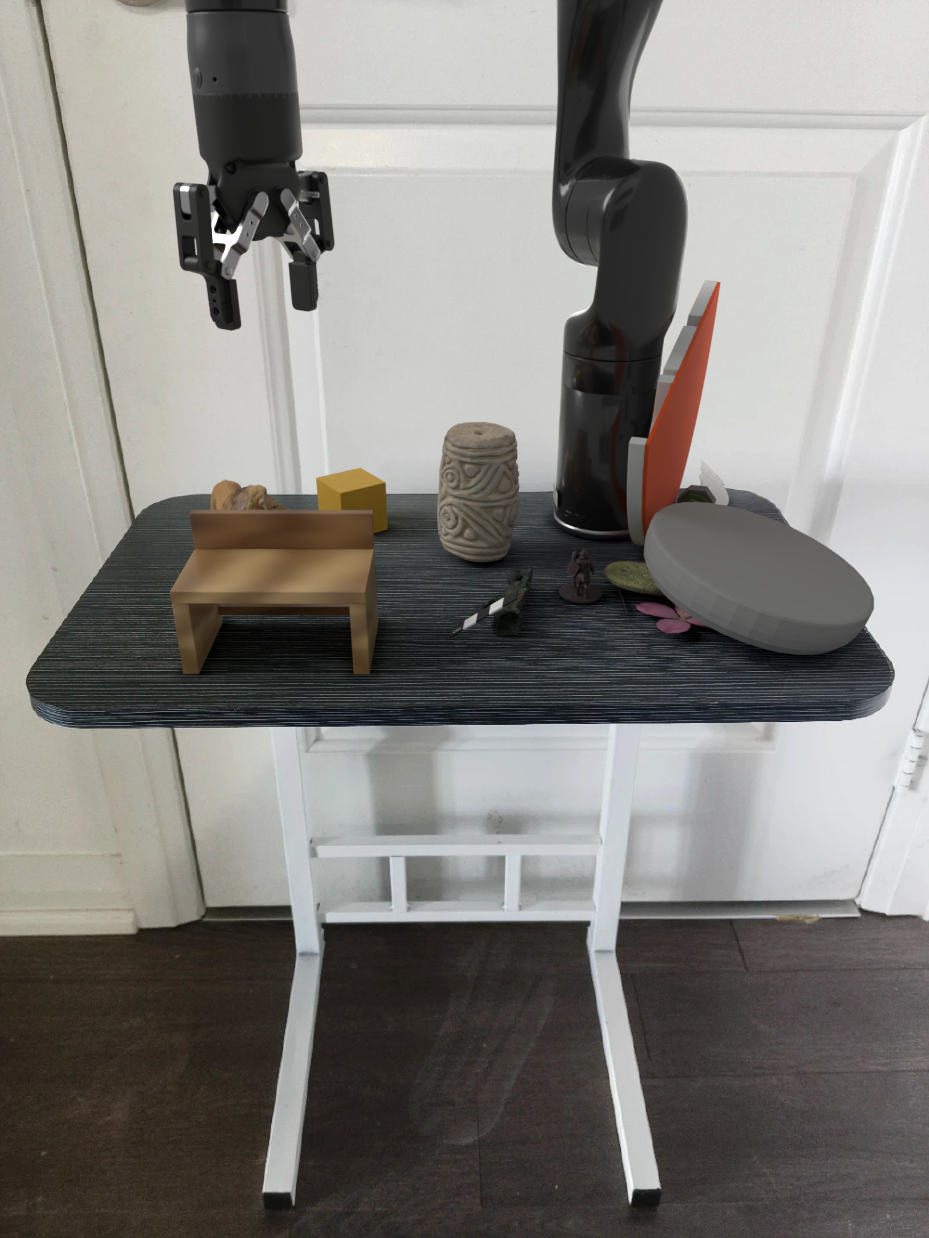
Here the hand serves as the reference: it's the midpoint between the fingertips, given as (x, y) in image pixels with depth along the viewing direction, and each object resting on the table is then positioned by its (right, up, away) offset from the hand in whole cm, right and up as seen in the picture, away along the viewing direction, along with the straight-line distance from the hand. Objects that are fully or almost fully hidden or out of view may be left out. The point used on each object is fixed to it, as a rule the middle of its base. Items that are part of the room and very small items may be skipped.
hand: (268, 319), depth 77 cm
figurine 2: (+27, -22, +6) cm, 35 cm away
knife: (+42, -14, +20) cm, 49 cm away
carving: (+17, -18, +13) cm, 28 cm away
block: (+5, -15, +19) cm, 25 cm away
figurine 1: (+18, -24, +3) cm, 30 cm away
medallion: (+32, -21, +7) cm, 39 cm away
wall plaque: (+40, +3, +23) cm, 47 cm away
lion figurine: (-5, -19, +12) cm, 23 cm away
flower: (+34, -25, +2) cm, 42 cm away
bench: (+2, -26, -1) cm, 26 cm away
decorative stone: (+39, -19, 0) cm, 44 cm away
